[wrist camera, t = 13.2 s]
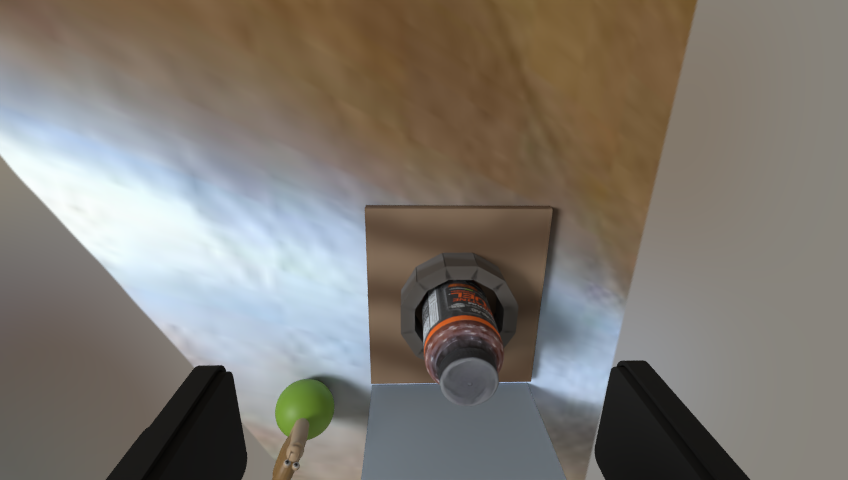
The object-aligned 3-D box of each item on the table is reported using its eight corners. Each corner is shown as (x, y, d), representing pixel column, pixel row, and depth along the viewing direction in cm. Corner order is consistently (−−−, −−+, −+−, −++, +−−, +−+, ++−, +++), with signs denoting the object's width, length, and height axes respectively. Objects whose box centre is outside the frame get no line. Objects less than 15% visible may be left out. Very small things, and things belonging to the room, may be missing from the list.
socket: (366, 205, 35) (361, 219, 32) (549, 206, 36) (565, 219, 32) (372, 377, 42) (368, 405, 38) (528, 375, 42) (539, 402, 38)
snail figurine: (349, 370, 41) (327, 475, 30) (328, 416, 43) (299, 532, 32) (297, 352, 40) (254, 454, 29) (277, 401, 42) (230, 514, 31)
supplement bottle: (494, 281, 37) (529, 358, 27) (473, 335, 39) (497, 427, 29) (431, 264, 36) (441, 337, 26) (412, 320, 38) (415, 410, 28)
